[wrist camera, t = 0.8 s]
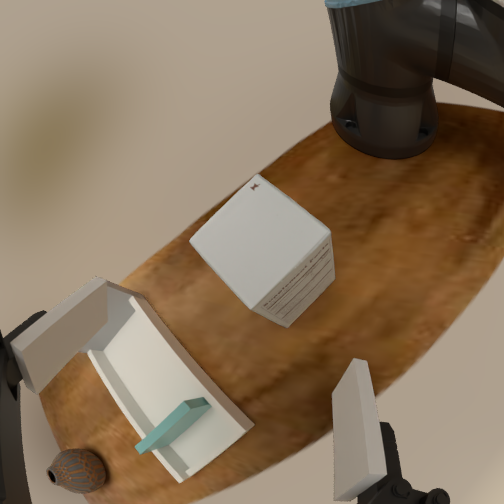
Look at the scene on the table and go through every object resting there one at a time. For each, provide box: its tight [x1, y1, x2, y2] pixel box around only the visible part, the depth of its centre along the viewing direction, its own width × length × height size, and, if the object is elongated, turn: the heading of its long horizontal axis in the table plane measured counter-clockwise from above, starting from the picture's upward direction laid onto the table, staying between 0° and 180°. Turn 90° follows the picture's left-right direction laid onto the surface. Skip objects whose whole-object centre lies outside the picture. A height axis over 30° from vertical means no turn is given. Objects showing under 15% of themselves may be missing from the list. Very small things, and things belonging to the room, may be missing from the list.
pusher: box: [135, 397, 212, 455], centre depth 25 cm, size 1×8×6 cm, turn 136°
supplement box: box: [189, 174, 335, 328], centre depth 25 cm, size 7×7×13 cm
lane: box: [78, 277, 255, 483], centre depth 27 cm, size 21×11×8 cm, turn 46°
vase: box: [46, 449, 106, 494], centre depth 25 cm, size 7×7×9 cm
